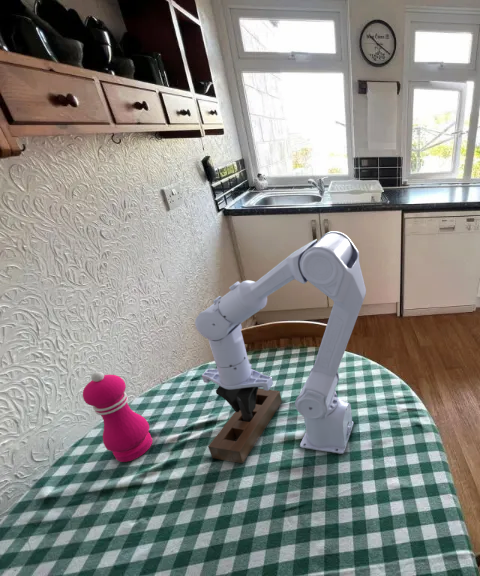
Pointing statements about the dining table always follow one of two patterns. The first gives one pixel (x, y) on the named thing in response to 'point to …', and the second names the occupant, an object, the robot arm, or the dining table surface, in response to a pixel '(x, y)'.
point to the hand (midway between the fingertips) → (245, 409)
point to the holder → (245, 429)
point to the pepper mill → (117, 417)
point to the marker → (244, 411)
